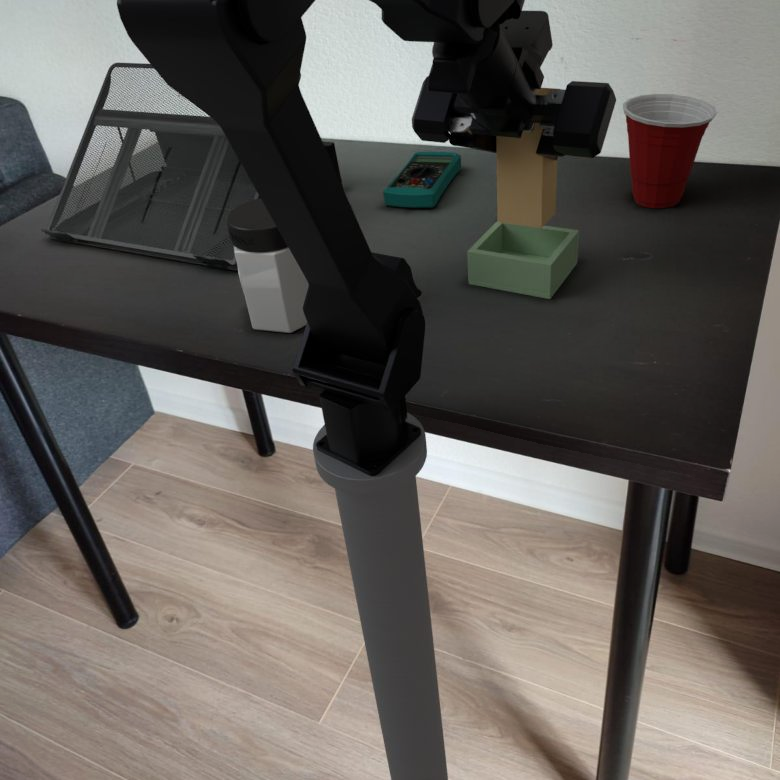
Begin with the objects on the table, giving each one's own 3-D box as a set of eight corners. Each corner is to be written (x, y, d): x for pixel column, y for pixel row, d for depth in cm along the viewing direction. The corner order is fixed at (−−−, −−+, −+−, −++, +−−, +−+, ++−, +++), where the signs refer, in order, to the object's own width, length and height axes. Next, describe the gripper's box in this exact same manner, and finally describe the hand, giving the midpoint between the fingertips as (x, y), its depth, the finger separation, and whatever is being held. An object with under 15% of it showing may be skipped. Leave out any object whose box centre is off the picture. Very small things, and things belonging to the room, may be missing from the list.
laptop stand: (41, 243, 107) (-12, 110, 97) (172, 169, 127) (139, 51, 116) (232, 277, 94) (195, 126, 83) (346, 188, 113) (328, 56, 102)
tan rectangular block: (542, 229, 81) (544, 101, 73) (496, 222, 83) (494, 98, 75) (556, 213, 83) (560, 88, 76) (512, 206, 86) (511, 85, 78)
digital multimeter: (382, 209, 106) (380, 188, 104) (415, 168, 117) (414, 148, 115) (433, 212, 103) (432, 191, 102) (462, 169, 114) (462, 150, 112)
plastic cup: (701, 220, 94) (716, 120, 87) (609, 215, 97) (616, 118, 90) (705, 185, 102) (719, 91, 94) (620, 181, 105) (628, 90, 98)
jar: (247, 300, 89) (224, 202, 82) (318, 287, 90) (300, 189, 82) (252, 341, 82) (226, 237, 74) (328, 326, 82) (310, 222, 75)
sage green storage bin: (550, 299, 82) (551, 265, 80) (468, 284, 87) (466, 251, 84) (577, 263, 88) (579, 230, 86) (499, 250, 92) (498, 218, 90)
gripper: (618, -17, 62) (644, 85, 76) (416, -16, 71) (473, 76, 85) (579, 112, 62) (613, 192, 76) (381, 98, 71) (443, 171, 84)
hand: (532, 153), depth 80 cm, fingers closed on tan rectangular block, 5 cm apart
